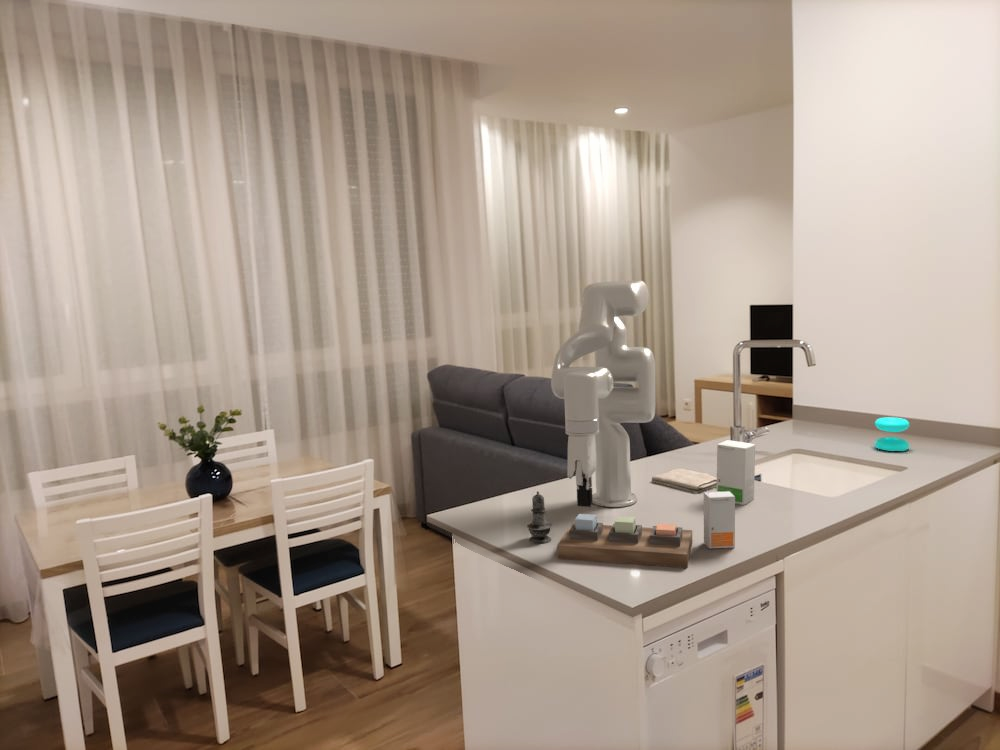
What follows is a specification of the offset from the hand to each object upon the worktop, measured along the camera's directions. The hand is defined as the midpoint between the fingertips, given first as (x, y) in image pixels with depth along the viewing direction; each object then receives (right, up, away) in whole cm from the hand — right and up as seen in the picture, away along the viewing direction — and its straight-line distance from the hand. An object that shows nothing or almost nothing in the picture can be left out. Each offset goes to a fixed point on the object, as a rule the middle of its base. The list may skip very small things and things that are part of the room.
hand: (585, 505), depth 166 cm
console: (+9, -10, -1) cm, 14 cm away
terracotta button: (+17, -6, -5) cm, 19 cm away
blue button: (0, -5, +1) cm, 5 cm away
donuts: (+110, +5, +75) cm, 133 cm away
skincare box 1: (+30, -9, -1) cm, 32 cm away
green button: (+9, -5, -2) cm, 10 cm away
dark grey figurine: (-10, -10, +8) cm, 16 cm away
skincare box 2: (+44, -4, +31) cm, 54 cm away
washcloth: (+35, -3, +48) cm, 60 cm away
